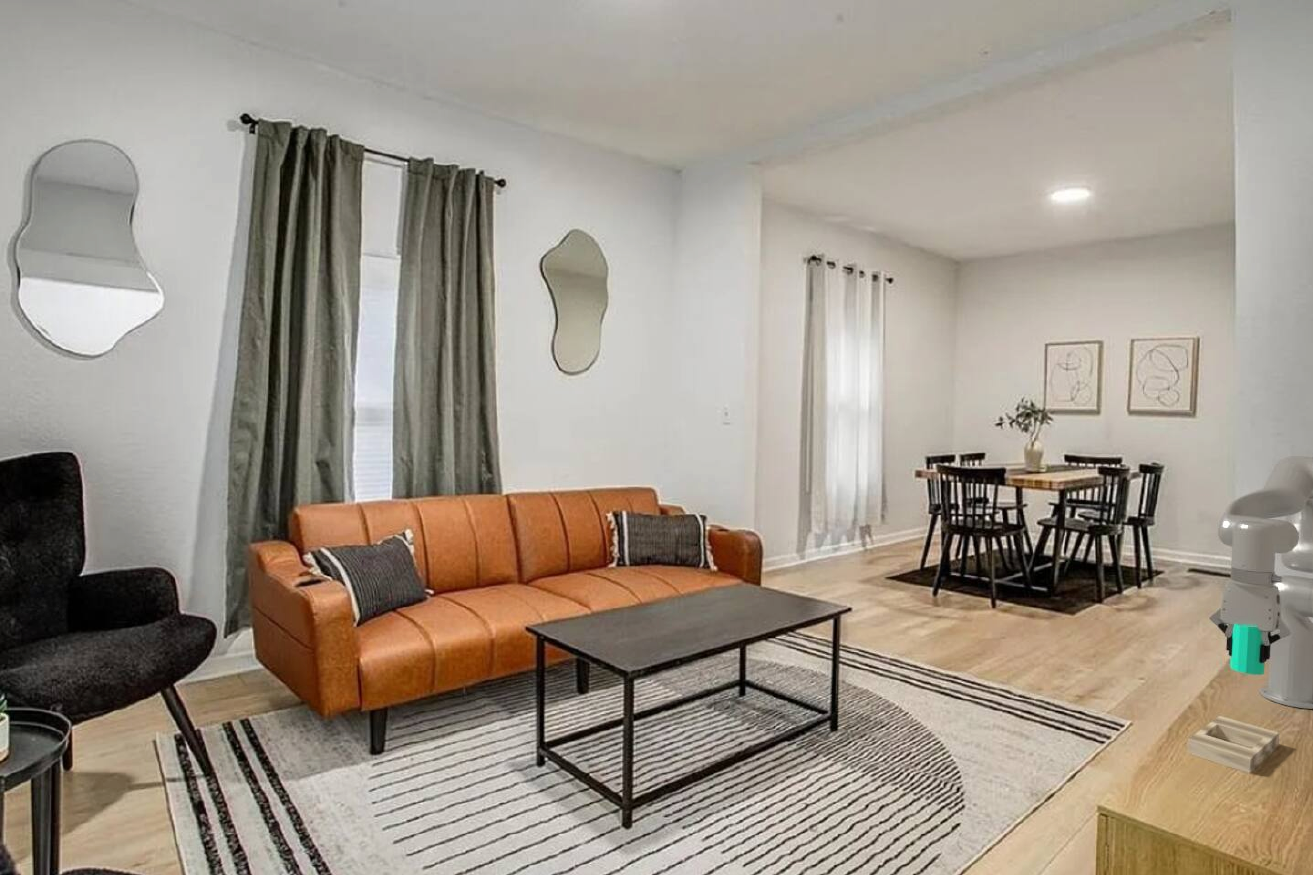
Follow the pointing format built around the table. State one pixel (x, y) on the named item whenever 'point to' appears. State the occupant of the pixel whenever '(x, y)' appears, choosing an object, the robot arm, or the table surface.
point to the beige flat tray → (1231, 753)
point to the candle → (1246, 650)
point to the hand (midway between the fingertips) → (1247, 657)
